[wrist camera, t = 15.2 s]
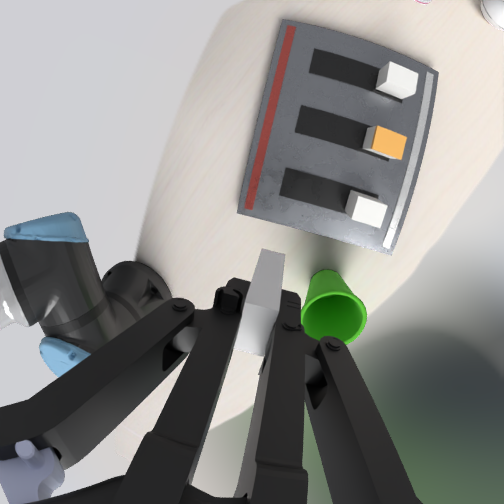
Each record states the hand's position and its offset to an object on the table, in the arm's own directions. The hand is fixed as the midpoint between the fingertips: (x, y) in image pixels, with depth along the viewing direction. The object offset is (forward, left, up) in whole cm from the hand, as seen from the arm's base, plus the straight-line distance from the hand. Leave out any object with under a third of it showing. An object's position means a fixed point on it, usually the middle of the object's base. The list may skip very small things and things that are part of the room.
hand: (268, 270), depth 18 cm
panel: (+6, +12, -24) cm, 28 cm away
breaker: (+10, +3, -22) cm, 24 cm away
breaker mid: (+11, +12, -22) cm, 27 cm away
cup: (+10, -11, -25) cm, 29 cm away
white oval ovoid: (+30, +47, -25) cm, 61 cm away
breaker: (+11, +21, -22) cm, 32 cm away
